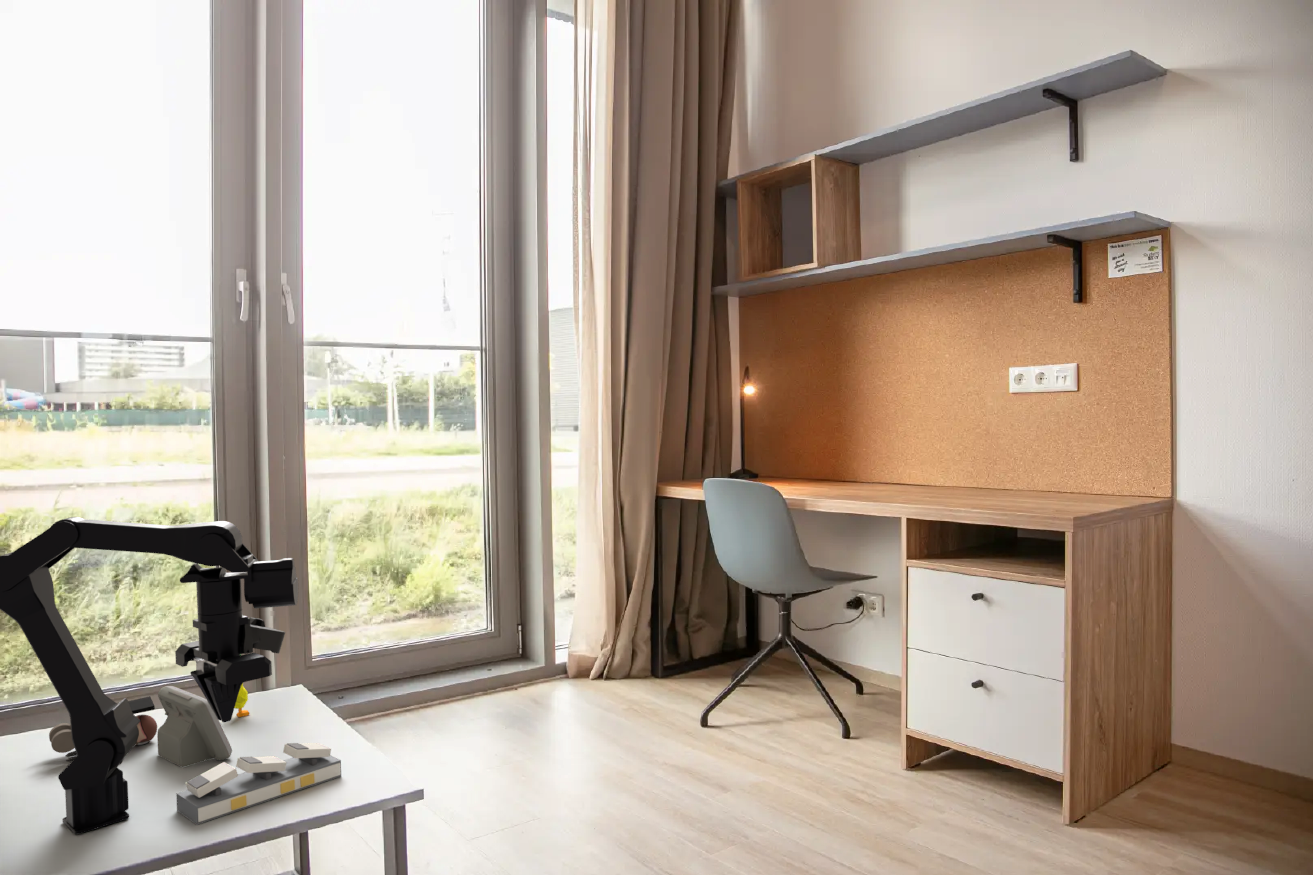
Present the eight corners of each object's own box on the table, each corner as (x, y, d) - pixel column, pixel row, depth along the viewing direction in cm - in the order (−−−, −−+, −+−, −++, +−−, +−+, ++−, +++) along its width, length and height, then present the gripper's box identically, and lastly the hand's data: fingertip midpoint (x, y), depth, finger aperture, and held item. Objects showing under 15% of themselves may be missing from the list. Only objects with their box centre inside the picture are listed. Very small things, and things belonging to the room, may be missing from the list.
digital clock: (235, 761, 145) (232, 695, 145) (172, 776, 140) (170, 708, 140) (210, 735, 158) (208, 675, 158) (152, 748, 152) (150, 686, 152)
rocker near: (199, 797, 124) (196, 788, 124) (187, 790, 127) (184, 781, 126) (238, 775, 128) (235, 767, 128) (226, 769, 130) (223, 760, 130)
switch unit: (198, 825, 122) (197, 800, 122) (177, 810, 127) (176, 786, 127) (342, 776, 137) (342, 754, 137) (318, 765, 142) (318, 743, 142)
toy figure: (260, 708, 172) (258, 645, 172) (265, 712, 170) (263, 649, 169) (222, 716, 168) (219, 652, 168) (226, 721, 165) (224, 655, 165)
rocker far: (295, 758, 134) (297, 748, 134) (283, 752, 137) (284, 742, 137) (329, 756, 138) (331, 747, 138) (316, 750, 141) (318, 741, 141)
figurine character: (56, 776, 145) (162, 743, 154) (48, 730, 144) (154, 700, 153) (54, 764, 150) (156, 733, 159) (45, 720, 150) (149, 691, 159)
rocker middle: (248, 772, 129) (250, 763, 129) (236, 766, 131) (238, 756, 132) (284, 770, 133) (286, 761, 133) (272, 764, 135) (274, 754, 136)
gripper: (306, 609, 128) (310, 718, 128) (248, 594, 140) (252, 694, 141) (225, 623, 119) (230, 740, 120) (171, 607, 132) (176, 713, 132)
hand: (224, 720), depth 128 cm, fingers closed
